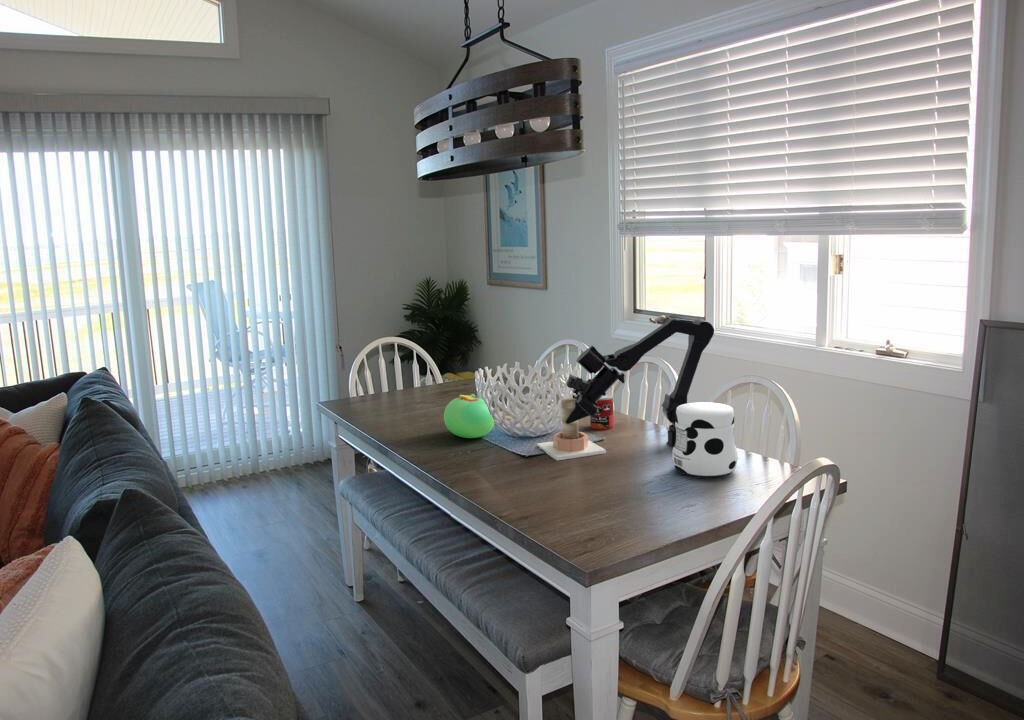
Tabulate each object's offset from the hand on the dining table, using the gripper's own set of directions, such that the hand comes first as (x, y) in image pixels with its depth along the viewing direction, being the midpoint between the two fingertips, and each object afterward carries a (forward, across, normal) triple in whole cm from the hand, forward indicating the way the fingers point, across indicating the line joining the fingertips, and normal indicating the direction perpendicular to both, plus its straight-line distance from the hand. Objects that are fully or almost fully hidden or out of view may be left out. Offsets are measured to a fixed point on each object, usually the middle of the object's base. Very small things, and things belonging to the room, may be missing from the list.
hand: (565, 420), depth 235 cm
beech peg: (+4, 0, +6) cm, 7 cm away
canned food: (-3, -24, +17) cm, 30 cm away
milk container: (-18, +26, +32) cm, 45 cm away
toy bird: (+28, -20, -15) cm, 37 cm away
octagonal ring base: (+6, 0, +7) cm, 9 cm away
